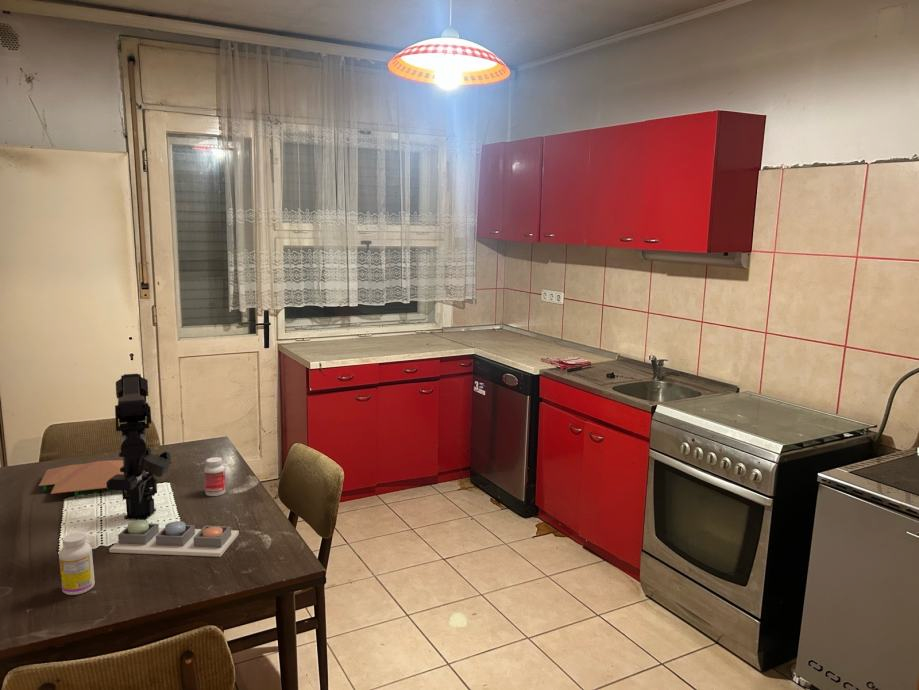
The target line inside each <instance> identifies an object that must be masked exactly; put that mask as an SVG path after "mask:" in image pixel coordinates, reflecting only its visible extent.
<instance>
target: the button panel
mask: <svg viewBox="0 0 919 690" xmlns="http://www.w3.org/2000/svg"><path fill="white" fill-rule="evenodd" d="M185 526H186V532H185V533H184V534H183V535H182V536H171V535H165V527H159V523H149V530H148V531H147V532H146V533H145V534H128V526H126V527H125V528H124V529H123V530H122V531H121V532H120V533H118V534H117V539H118V541H117V542H115V543H114V544H113V545H112V546H111V547H109V548H108V550H109V553H118V554H141V555H165V556H166V555H168V556H170V555H171V556H193V557H213V558H214V557H216V558H218V557H219V558H220V557H222V555H223V554H224V553H225V552H226V550H227V549H228V548H229V547H230V546H231V544H232V543H233V542H234V541H235V540H236V538H237V537H238V536H239V534H240V533H239V532H240V531H239V530H233V529H232V527H231V526H230V525H229V526H223V525H204V526H203V527H202V528H196V525H194V524H185ZM209 527H221V528H222V529H223V533H222V535H221V536H220V537H203V530H204V529H206V528H209Z"/></svg>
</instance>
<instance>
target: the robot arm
mask: <svg viewBox="0 0 919 690" xmlns="http://www.w3.org/2000/svg"><path fill="white" fill-rule="evenodd" d="M115 395H116V399H117V404H116V405H114V412H115V415H114V416H115V417H114V418H115V432H120V435H121V440H120V452H118V457H120V458H122V460H123V467H121V468H120V472H124V474H116V475H115V476H113V477H112V478H110V479H109V480H108V481H107V482H106V486H107V488H106V490H107V491H109V490H110V491H111V490H112V491H113V492H116V491H117V492H121V497H122V500H123V501H125V507H126V508H125V509H126V515H124V516H123V519H124V520H147V519H148V518H149V517H151V516H152V515H153V514H154V513H155V512H156V511H157V509H156V508H155V498H153V496H156V495H157V493H158V485H157V482H158V481H157V479H156V478H155V477H158V478H161V477H163V476H164V475H165V474H167V473H168V471H169V468H170V465H172V463H173V462H172V458H171V453H170V452H168V451H166V450H165V451H163V452H161V454H158V453H157V454H153V453H152V449H151V447H147V437H146V436H147V435H146V434H147V432H146V429H150V424H152V412H151V410H152V409H151V406H150V405H149V402H147V397H149V384H148V379H146V378H144V377H142V374H140V373H128V374H127V373H124V374H123V375H120V378H119V379H118V380H117V381H115ZM119 423H120V424H119ZM155 494H156V495H155Z"/></svg>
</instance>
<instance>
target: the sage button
mask: <svg viewBox="0 0 919 690" xmlns="http://www.w3.org/2000/svg"><path fill="white" fill-rule="evenodd" d="M127 527H128V534H145V533H146V532H147V531H148V530H149V521H148V520H147V519H145V520H140V519H135V520H134V521H131V522H129V523H128V524H127Z"/></svg>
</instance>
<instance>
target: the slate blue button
mask: <svg viewBox="0 0 919 690" xmlns="http://www.w3.org/2000/svg"><path fill="white" fill-rule="evenodd" d="M185 525H186V523H185V522H184V521H180V520H177V521H172V522H168V523H167V524H165V525H164V528H165V535H171V536H182V535H183V534H184V533H185V532H186V526H185Z"/></svg>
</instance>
